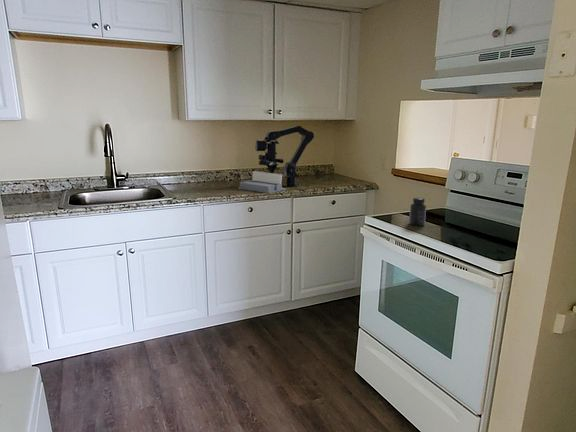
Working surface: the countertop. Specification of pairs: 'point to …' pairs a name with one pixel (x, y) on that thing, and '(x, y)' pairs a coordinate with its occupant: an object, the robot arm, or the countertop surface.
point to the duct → (261, 186)
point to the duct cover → (267, 177)
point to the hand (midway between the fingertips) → (271, 174)
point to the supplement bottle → (417, 212)
